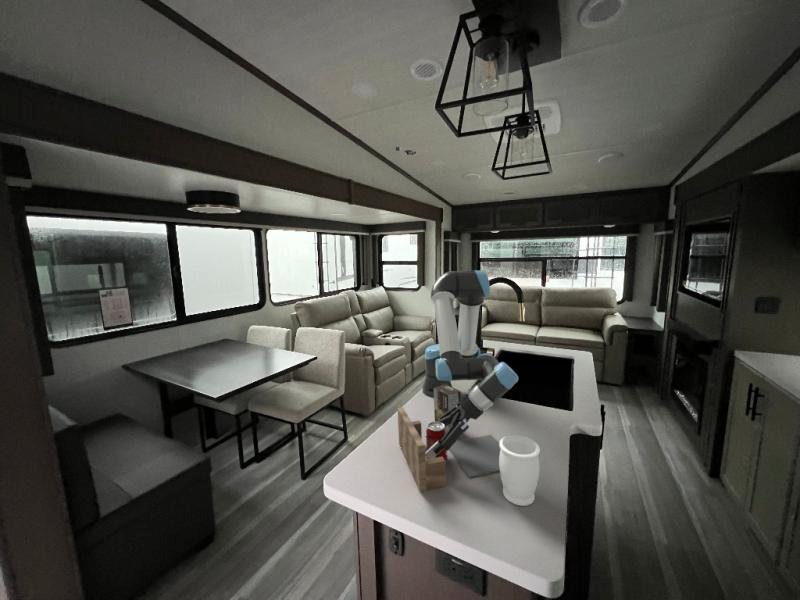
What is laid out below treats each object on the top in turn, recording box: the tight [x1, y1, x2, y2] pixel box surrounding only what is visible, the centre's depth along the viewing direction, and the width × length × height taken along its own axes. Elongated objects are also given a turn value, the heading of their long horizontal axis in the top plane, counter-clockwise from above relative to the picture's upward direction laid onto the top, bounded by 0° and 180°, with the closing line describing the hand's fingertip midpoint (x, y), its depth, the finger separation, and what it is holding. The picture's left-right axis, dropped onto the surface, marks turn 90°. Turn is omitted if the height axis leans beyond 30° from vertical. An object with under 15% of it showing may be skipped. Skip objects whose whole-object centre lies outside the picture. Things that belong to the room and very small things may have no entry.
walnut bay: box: [397, 407, 447, 493], centre depth 100 cm, size 24×8×14 cm, turn 14°
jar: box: [498, 434, 541, 507], centre depth 85 cm, size 11×10×15 cm
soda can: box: [425, 421, 448, 463], centre depth 102 cm, size 7×7×12 cm
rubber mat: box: [448, 434, 501, 479], centre depth 104 cm, size 18×18×1 cm
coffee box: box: [433, 384, 461, 430], centre depth 121 cm, size 9×6×16 cm
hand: (427, 447), depth 102 cm, fingers open, 10 cm apart
